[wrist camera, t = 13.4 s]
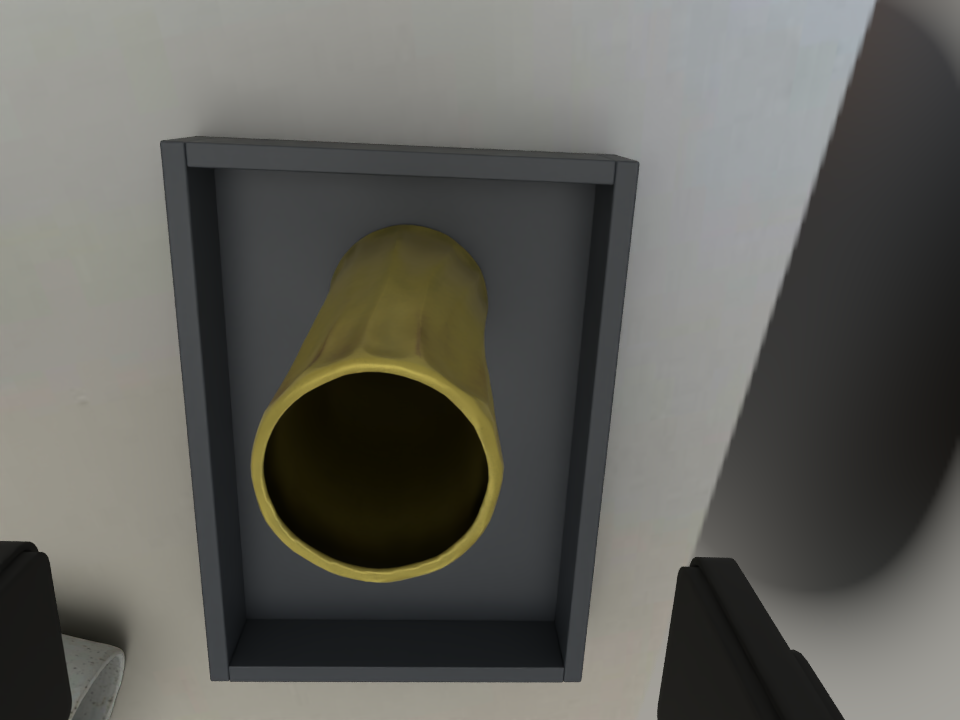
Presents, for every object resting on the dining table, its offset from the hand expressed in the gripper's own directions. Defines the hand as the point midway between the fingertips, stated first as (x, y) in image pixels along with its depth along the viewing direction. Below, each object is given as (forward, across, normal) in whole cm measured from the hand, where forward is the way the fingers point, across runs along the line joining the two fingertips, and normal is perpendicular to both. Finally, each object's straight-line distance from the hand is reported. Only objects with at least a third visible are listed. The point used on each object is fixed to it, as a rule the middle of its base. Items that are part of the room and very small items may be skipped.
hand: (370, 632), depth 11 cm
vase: (+19, +1, 0) cm, 19 cm away
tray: (+19, +1, +5) cm, 20 cm away
